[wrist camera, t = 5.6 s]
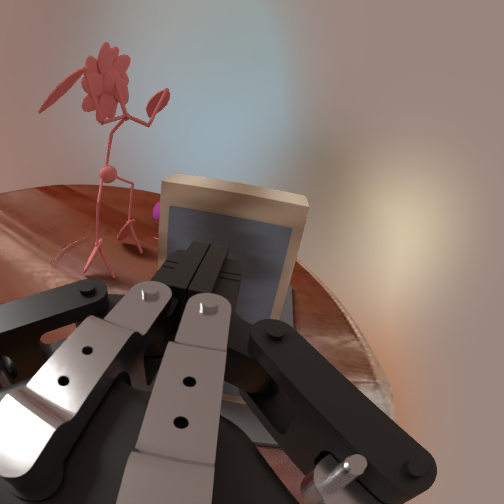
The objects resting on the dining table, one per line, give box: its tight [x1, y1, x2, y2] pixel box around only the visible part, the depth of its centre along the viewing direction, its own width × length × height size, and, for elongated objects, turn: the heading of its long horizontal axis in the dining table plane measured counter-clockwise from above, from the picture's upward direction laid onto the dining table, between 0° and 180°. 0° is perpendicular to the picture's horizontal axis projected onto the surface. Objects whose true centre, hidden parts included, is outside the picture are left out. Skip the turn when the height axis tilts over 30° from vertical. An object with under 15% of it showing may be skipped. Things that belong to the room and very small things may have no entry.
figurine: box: [38, 42, 170, 279], centre depth 38 cm, size 15×26×35 cm, turn 169°
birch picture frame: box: [158, 173, 309, 404], centre depth 22 cm, size 9×3×20 cm, turn 85°
